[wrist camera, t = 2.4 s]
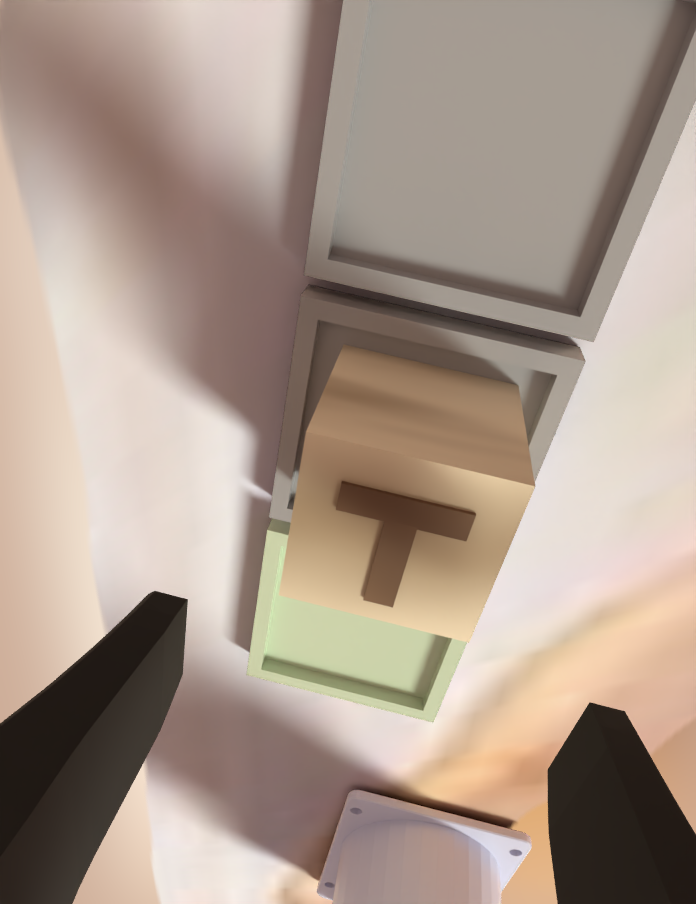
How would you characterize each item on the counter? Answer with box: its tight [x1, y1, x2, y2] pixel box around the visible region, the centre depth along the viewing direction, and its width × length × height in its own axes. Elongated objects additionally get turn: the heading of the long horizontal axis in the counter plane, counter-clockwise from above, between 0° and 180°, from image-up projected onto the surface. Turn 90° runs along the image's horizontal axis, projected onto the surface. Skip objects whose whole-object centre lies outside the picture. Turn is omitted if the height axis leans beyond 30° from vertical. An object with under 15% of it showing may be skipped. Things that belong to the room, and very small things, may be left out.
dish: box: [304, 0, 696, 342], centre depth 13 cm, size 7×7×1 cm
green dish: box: [247, 518, 467, 722], centre depth 21 cm, size 7×7×1 cm
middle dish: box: [269, 285, 585, 523], centre depth 17 cm, size 7×7×1 cm
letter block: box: [279, 345, 535, 643], centre depth 16 cm, size 5×5×5 cm
